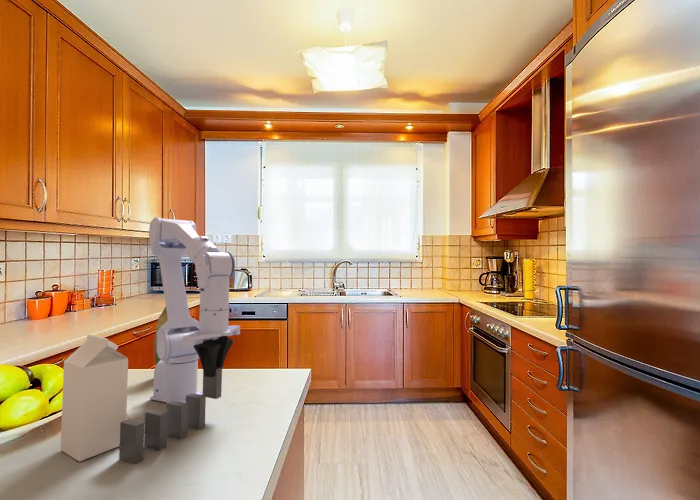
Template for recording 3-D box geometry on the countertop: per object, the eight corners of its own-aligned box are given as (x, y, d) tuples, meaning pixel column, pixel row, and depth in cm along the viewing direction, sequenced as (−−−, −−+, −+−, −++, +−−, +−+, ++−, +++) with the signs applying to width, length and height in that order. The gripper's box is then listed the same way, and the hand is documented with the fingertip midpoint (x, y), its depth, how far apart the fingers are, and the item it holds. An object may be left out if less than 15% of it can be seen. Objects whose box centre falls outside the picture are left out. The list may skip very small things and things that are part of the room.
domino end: (119, 459, 60) (120, 422, 61) (127, 455, 62) (129, 418, 62) (134, 464, 59) (136, 426, 59) (143, 460, 60) (144, 422, 61)
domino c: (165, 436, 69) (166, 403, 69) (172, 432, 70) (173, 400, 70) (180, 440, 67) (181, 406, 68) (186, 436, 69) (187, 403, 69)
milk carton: (79, 463, 59) (83, 342, 60) (59, 450, 63) (64, 337, 64) (125, 444, 65) (129, 335, 66) (105, 434, 69) (109, 331, 70)
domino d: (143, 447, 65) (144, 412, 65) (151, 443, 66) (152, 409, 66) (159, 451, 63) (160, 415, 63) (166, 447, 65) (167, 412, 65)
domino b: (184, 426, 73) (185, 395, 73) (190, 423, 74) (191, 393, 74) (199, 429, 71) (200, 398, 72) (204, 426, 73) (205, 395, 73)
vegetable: (182, 377, 104) (184, 305, 105) (159, 382, 99) (162, 307, 100) (172, 372, 108) (174, 303, 109) (149, 377, 103) (151, 305, 104)
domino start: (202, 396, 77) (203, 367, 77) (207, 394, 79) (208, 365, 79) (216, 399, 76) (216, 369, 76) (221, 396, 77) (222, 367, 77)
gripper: (203, 314, 70) (201, 388, 69) (251, 306, 83) (250, 368, 82) (175, 312, 72) (173, 383, 72) (226, 305, 86) (225, 364, 85)
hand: (212, 375), depth 77 cm, fingers closed on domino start, 1 cm apart
